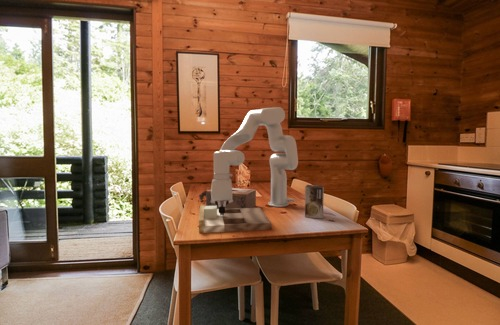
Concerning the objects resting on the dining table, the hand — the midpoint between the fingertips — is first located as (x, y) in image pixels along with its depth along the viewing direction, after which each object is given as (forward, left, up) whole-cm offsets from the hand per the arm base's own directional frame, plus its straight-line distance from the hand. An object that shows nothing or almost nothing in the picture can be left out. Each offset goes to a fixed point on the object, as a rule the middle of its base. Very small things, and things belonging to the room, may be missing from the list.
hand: (221, 214), depth 135 cm
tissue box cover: (-7, -30, -4) cm, 31 cm away
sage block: (+5, -1, -1) cm, 6 cm away
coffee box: (-48, -3, -4) cm, 49 cm away
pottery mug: (+6, -47, -4) cm, 47 cm away
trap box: (-5, 0, -4) cm, 7 cm away
